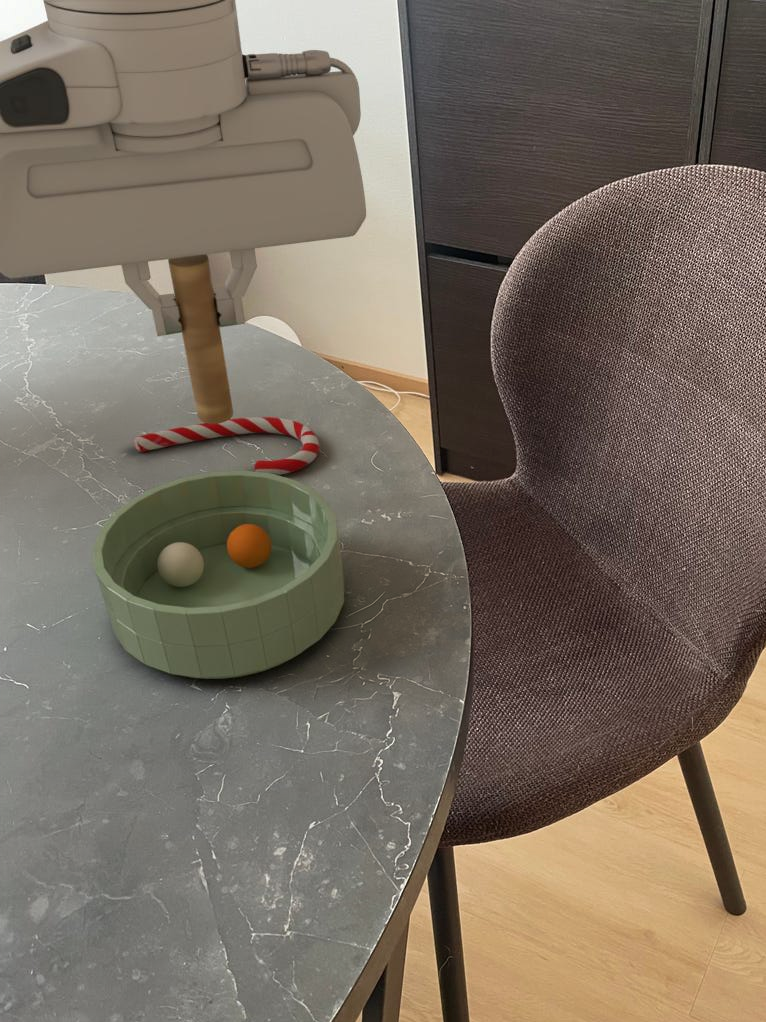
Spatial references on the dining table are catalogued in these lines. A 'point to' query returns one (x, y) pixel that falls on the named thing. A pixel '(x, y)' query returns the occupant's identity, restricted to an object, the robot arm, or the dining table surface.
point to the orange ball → (249, 545)
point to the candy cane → (241, 427)
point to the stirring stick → (202, 337)
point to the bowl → (221, 574)
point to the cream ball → (180, 564)
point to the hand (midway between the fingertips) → (199, 326)
